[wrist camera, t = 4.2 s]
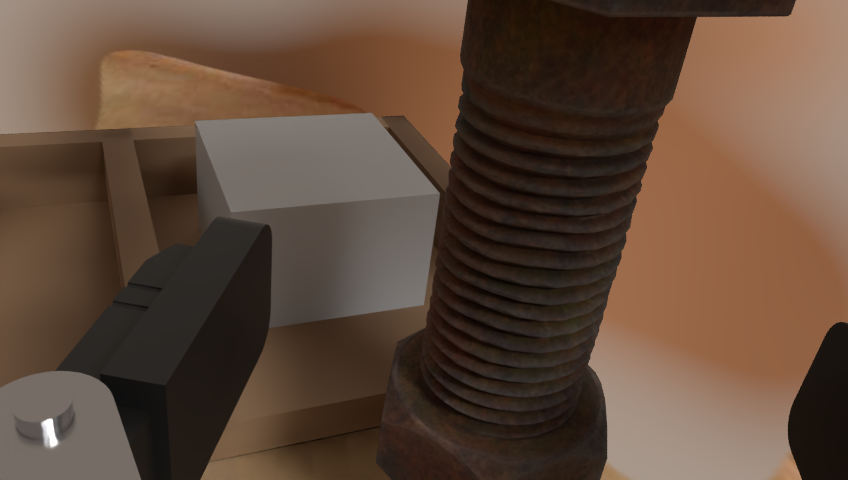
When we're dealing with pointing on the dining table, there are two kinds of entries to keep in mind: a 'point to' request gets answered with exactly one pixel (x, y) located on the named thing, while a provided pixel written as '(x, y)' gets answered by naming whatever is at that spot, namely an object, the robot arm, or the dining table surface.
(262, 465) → the dining table surface
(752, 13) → the bolt
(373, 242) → the grey block
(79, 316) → the tray
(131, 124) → the dining table surface
